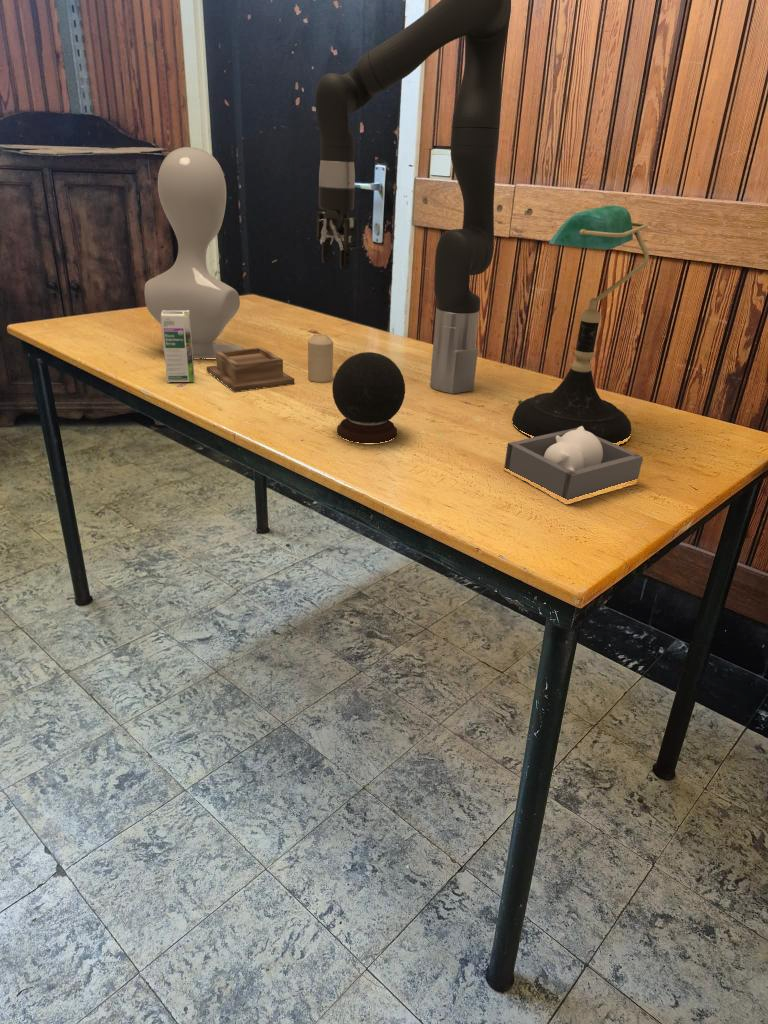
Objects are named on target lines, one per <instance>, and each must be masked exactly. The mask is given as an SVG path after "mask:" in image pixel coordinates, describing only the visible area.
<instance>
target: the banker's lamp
mask: <svg viewBox="0 0 768 1024" xmlns="http://www.w3.org/2000/svg"><path fill="white" fill-rule="evenodd" d="M633 227H634V228H633ZM648 227H649V225H648V224H647V223H645V222H644V223H643V222H635V221H632V217H631V214H630V211H629V210H628V209H627V208H625V207H623V206H620V205H614V204H613V205H611V204H610V205H604V206H600V207H599V206H598V207H595V208H590V209H585V210H582V211H579V212H576V213H574V214H573V215H571V216H570V217H569V218H568V219H566V220H565V221H564V223H563V224H562V225H561V226H560V227H558V228H559V229H558V230H557V231H556V232H555V234H554V235H553V236H552V237H551V239H550V240H549V242H548V244H552V245H554V246H556V245H557V246H565V247H574V248H584V249H594V250H605V251H606V250H612V249H615V248H617V247H620V246H622V245H624V244H626V243H629V242H631V241H632V240H634V239H633V237H634V236H635V238H636V240H637V242H638V245H639V247H640V250H641V251H642V254H643V261H642V262H641V263H639V265H637V266H636V267H635V268H634V269H632V270H631V271H630V272H628V273H627V274H626V275H624V276H623V277H622V278H621V279H619V280H618V281H617V282H615V283H614V284H612V285H611V286H610V287H608V288H607V289H605V291H603V292H602V293H600V294H599V295H598V296H596V297H592V298H591V299H590V300H589V304H588V309H586V310H583V311H582V313H581V314H580V317H579V318H580V323H579V329H578V334H577V335H578V336H577V340H576V346H575V348H574V354H573V355H574V358H576V359H575V360H573V362H572V364H571V367H570V368H569V371H568V373H566V376H565V377H564V378H563V379H562V381H561V382H560V384H559V385H558V386H557V387H556V388H555V389H554V390H553V391H551V392H543V393H539V394H536V395H534V396H532V397H529V398H527V399H525V400H521V399H520V400H518V402H517V403H518V405H517V406H516V407H515V410H514V412H513V415H512V418H511V422H512V421H513V423H512V425H513V424H514V425H515V426H516V427H517V428H518V429H519V430H521V431H523V432H525V433H527V434H529V435H532V436H534V437H537V436H542V435H546V434H551V433H555V432H560V431H564V430H569V429H573V428H578V427H580V426H583V428H584V429H585V431H588V432H590V433H592V434H593V435H595V436H597V437H600V438H602V439H604V440H606V441H609V442H611V443H617V442H619V441H623V440H624V439H626V438H628V437H629V436H630V434H631V435H632V424H631V423H632V422H631V420H630V418H629V417H628V415H626V414H625V412H623V411H622V410H621V409H620V408H618V407H617V406H615V405H614V404H613V403H611V402H609V401H607V400H604V399H602V398H601V396H600V395H599V393H598V391H597V389H596V386H595V382H594V376H593V372H592V363H591V362H590V360H592V359H593V358H594V355H595V347H596V346H595V345H596V342H597V341H596V340H597V337H598V336H597V335H598V332H599V331H598V330H599V326H600V325H599V324H600V323H601V320H602V317H601V316H602V315H601V313H600V312H599V311H598V310H597V307H598V303H599V301H601V300H602V299H603V298H605V297H607V295H609V294H611V293H612V292H613V291H614V290H616V289H617V288H619V287H620V286H621V285H623V284H624V283H625V282H627V281H628V280H629V279H631V278H632V277H634V275H636V274H637V273H638V272H640V271H641V270H642V269H643V268H644V267H646V265H647V264H648V262H649V259H650V255H649V251H648V249H647V246H646V244H645V242H644V239H643V237H642V235H641V233H640V231H642V230H644V229H647V228H648ZM514 425H513V426H514ZM519 430H518V431H519Z"/></svg>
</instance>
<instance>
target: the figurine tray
mask: <svg viewBox="0 0 768 1024" xmlns="http://www.w3.org/2000/svg"><path fill="white" fill-rule="evenodd" d="M576 429H577V428H573V429H569V430H564V431H560V432H555V433H551V434H546V435H542V436H537V437H533V438H531V437H529V438H524V439H519V440H516V441H511V442H507V445H506V452H505V454H506V455H505V460H504V467H503V469H504V468H506V469H509V470H510V471H512V472H514V473H516V474H518V475H520V476H522V477H524V478H526V479H528V480H530V481H531V482H534V483H536V484H538V485H540V486H541V487H544V488H546V489H547V490H549V491H551V492H553V493H555V494H557V495H559V496H561V497H563V498H565V499H567V500H569V499H573V498H575V497H579V496H582V495H585V494H589V493H593V492H596V491H598V490H602V489H605V488H608V487H611V486H615V485H618V484H621V483H625V482H628V481H632V480H635V479H638V480H639V476H640V473H641V467H642V463H643V460H644V459H643V458H644V456H643V455H640V454H638V453H636V452H635V451H632V450H630V449H627V448H625V447H623V446H621V445H620V446H618V445H616V444H613V443H611V442H609V441H606V440H604V439H602V438H600V437H597V436H596V437H597V438H598V440H599V441H600V443H601V445H602V449H603V458H602V461H601V464H598V465H594V466H590V467H586V468H582V469H579V470H575V471H570V470H568V469H566V468H564V467H562V466H560V465H558V464H556V463H554V462H552V461H550V460H548V459H546V458H544V454H545V452H546V450H547V449H548V448H549V447H550V446H551V445H553V444H555V443H557V442H556V436H560V437H562V436H563V435H564V434H565V433H567V432H569V431H572V430H576Z"/></svg>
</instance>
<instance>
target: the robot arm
mask: <svg viewBox="0 0 768 1024" xmlns="http://www.w3.org/2000/svg"><path fill="white" fill-rule="evenodd" d="M511 13H512V0H439V1H438V2H437V3H436V4H434V6H432V7H431V8H430V9H428V10H427V11H426V12H425V13H424V14H422V15H421V16H419V18H417V19H415V21H413V22H412V23H411V24H408V26H406V27H405V28H403V29H402V30H400V31H399V32H398V33H396V34H394V35H393V36H391V37H390V38H388V39H387V40H385V41H383V42H381V43H379V44H378V45H377V46H375V47H374V48H372V49H370V50H369V51H367V52H366V53H365V54H363V55H362V56H360V58H359V59H358V61H357V65H356V66H355V67H353V68H352V69H351V70H349V71H347V72H345V73H344V74H339V73H334V72H329V73H326V74H325V75H323V76H322V77H321V78H320V79H319V81H318V83H317V86H316V89H315V100H314V101H315V110H316V117H317V124H318V130H319V134H320V155H319V156H320V163H319V171H318V174H319V175H318V207H319V209H322V210H324V211H321V212H320V211H317V212H316V213H317V214H316V234H315V235H316V240H317V241H319V242H320V245H321V262H322V263H324V264H329V263H332V260H333V245H332V243H333V241H334V240H335V241H336V242H337V243H338V245H339V249H340V250H339V268H340V269H343V270H347V269H348V270H349V269H350V268H351V252H352V250H353V249H357V246H358V245H357V243H358V239H357V238H358V237H357V236H358V235H357V233H358V225H357V224H358V223H357V220H358V219H357V218H356V217H349V211H351V212H352V211H353V210H354V208H355V189H356V187H355V185H356V184H355V183H356V182H355V181H356V172H355V171H356V170H355V135H354V133H353V132H352V131H351V130H350V126H349V125H350V123H349V115H351V114H353V113H355V112H357V111H359V110H360V109H362V108H363V107H364V106H365V105H366V104H368V103H369V102H370V101H372V100H373V99H374V98H375V96H376V95H377V94H378V95H379V93H381V92H384V91H386V90H387V89H388V88H390V87H392V86H394V85H395V84H397V83H398V82H400V81H402V80H403V79H405V78H407V77H408V76H409V75H410V74H412V73H413V72H414V71H415V70H416V69H417V68H418V67H420V66H421V65H422V64H423V63H424V62H425V61H426V60H427V59H428V58H430V56H431V55H433V54H434V53H436V52H437V51H438V50H440V49H441V48H442V47H444V46H447V44H450V43H451V42H453V41H455V40H458V39H460V38H462V37H464V68H463V75H462V80H461V84H460V87H459V90H458V94H457V96H456V97H457V98H456V102H455V106H454V109H453V115H452V120H451V121H452V123H451V137H450V160H451V163H452V164H451V165H452V169H453V171H454V175H455V177H456V180H457V183H458V185H459V189H460V192H461V197H462V201H463V216H462V217H463V220H462V228H455V229H449V230H447V231H445V232H444V233H443V234H442V235H441V236H440V238H439V240H438V242H437V245H436V250H435V257H434V288H433V289H434V296H435V299H436V309H435V321H434V332H433V333H434V334H433V343H432V355H431V356H432V357H431V367H430V370H431V371H430V379H429V380H430V382H429V387H431V388H432V389H434V390H436V391H440V392H444V393H449V394H452V395H453V394H460V393H466V392H472V391H471V390H473V391H474V387H475V379H476V370H477V360H478V351H479V349H478V348H477V347H476V345H477V344H476V343H477V334H478V324H479V318H480V317H479V316H480V307H481V298H480V296H479V295H478V294H476V293H474V292H472V291H471V287H470V280H471V279H470V277H471V276H476V275H481V274H483V273H484V272H485V271H487V270H488V268H489V267H490V265H491V263H492V260H493V257H494V250H495V224H494V223H495V222H494V221H495V217H494V215H495V214H494V211H495V210H494V209H495V208H494V207H495V206H494V204H495V202H494V201H495V186H496V170H497V159H498V158H497V157H498V150H499V142H500V141H499V140H500V125H501V110H502V109H501V107H502V105H501V104H502V74H503V73H502V72H503V71H502V69H503V63H504V55H505V48H506V42H507V37H508V30H509V26H510V19H511V15H512V14H511ZM378 95H377V96H378Z"/></svg>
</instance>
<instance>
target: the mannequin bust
mask: <svg viewBox="0 0 768 1024" xmlns="http://www.w3.org/2000/svg"><path fill="white" fill-rule="evenodd" d="M157 176H158V177H157V192H158V198H159V200H160V204H161V207H162V210H163V211H164V214H165V216H166V218H167V220H168V222H169V224H170V226H171V228H172V230H173V231H174V235H175V237H176V240H177V244H178V246H177V247H178V249H177V250H178V251H177V256H176V260H175V262H174V263H173V265H172V266H171V267H170V268H169V269H167V270H166V271H163V272H162V273H159V274H158V275H155V276H154V277H152V278H150V279H148V280H147V281H146V282H145V284H144V293H143V294H144V301H145V307H146V309H147V311H148V312H149V314H150V315H151V316H152V317H153V318H154V320H156V322H158V324H160V325H161V313H162V311H163V310H166V311H186V310H189V312H190V325H191V337H192V350H193V358H203V359H202V360H204V358H205V359H206V358H216V352H222V351H232V350H241V349H243V347H241V346H239V345H235V344H229V343H214V342H215V341H216V340H217V339H218V338H219V337H220V336H221V334H222V332H223V331H224V330H225V329H226V327H227V325H228V324H229V323H230V322H231V321H232V320H233V318H234V317H235V315H236V314H237V313H238V311H239V309H240V304H241V301H240V300H241V297H240V295H239V293H238V291H237V290H236V288H233V287H232V286H230V285H229V284H227V283H225V282H223V281H221V280H219V279H217V278H215V277H214V276H212V275H211V274H210V272H209V269H208V267H207V253H208V247H209V246H210V244H211V243H212V241H213V240H214V239H215V238H216V237H217V236H218V234H219V231H220V230H221V228H222V225H223V221H224V217H225V212H226V205H227V183H226V178H225V175H224V172H223V169H222V167H221V165H220V164H219V162H218V160H217V159H216V158H215V156H213V155H212V154H211V153H209V152H208V151H206V150H203V149H202V148H198V147H191V146H184V147H183V146H182V147H179V148H176V149H174V150H172V151H171V152H170V153H168V154H167V155H166V157H164V159H163V160H162V163H161V164H160V167H159V170H158V175H157ZM161 349H162V350H161V351H162V352H163V353H164V345H162V347H161Z"/></svg>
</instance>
